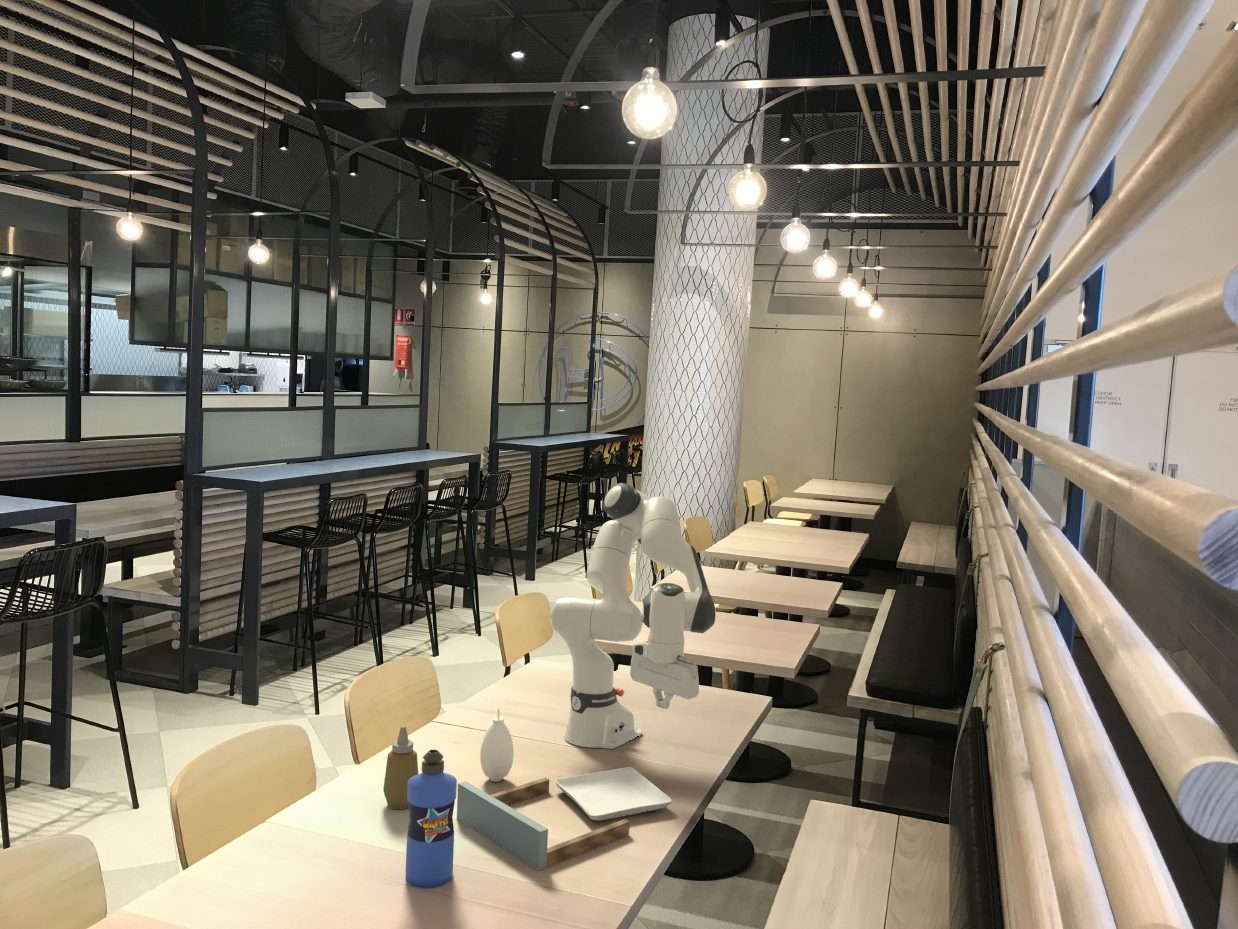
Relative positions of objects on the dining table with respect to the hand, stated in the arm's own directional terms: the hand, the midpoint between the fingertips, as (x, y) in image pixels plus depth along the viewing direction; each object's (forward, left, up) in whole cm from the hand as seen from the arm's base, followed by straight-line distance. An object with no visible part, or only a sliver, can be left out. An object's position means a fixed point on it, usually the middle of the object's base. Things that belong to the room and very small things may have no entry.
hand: (662, 707), depth 232 cm
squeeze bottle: (+55, -28, -20) cm, 65 cm away
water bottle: (+67, +3, -20) cm, 70 cm away
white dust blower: (+30, -26, -20) cm, 44 cm away
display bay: (+36, 0, -20) cm, 41 cm away
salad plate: (+15, 0, -20) cm, 25 cm away
